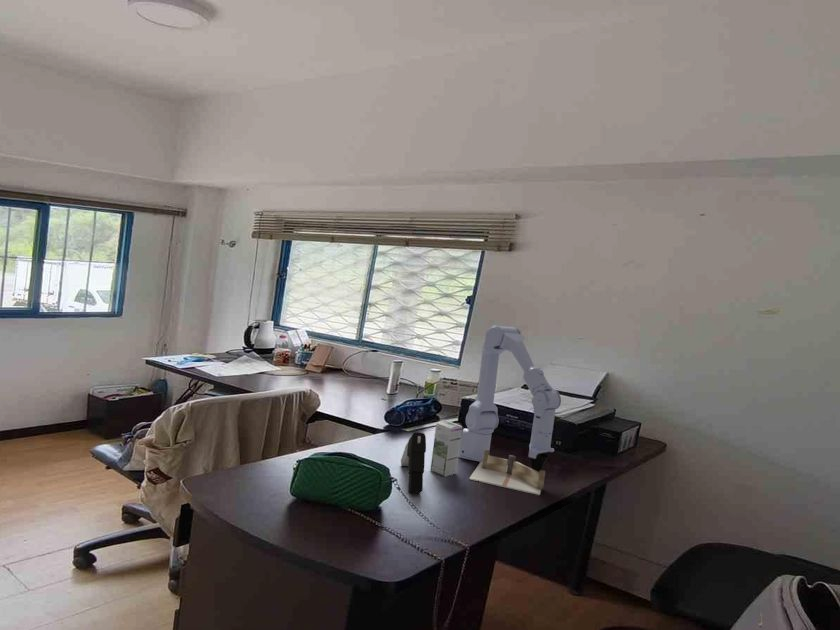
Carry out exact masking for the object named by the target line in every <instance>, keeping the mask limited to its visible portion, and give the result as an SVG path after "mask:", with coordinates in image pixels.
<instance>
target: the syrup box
mask: <svg viewBox="0 0 840 630" xmlns="http://www.w3.org/2000/svg"><path fill="white" fill-rule="evenodd" d="M435 423H436V424H435V432H434V439H433V440H434V441H433V448H432V454H431V456H432V457H431V461H430V462H431V463H430V471H431V472H433V473H436V474H437V473H438V474H437V475H440V476H442V477H449V475H450V476H454V475H456V474H457V472H458V465H459V463H458V461H459V457H458V456H459V449H460V442H461V436H462V432H463V425H460V424H458V423H454V422H452V421H448V420H446V421H443V420H442V421H438V422H435ZM453 474H454V475H453Z"/></svg>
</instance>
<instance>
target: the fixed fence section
mask: <svg viewBox="0 0 840 630" xmlns="http://www.w3.org/2000/svg"><path fill="white" fill-rule="evenodd" d="M489 455H490V450H489V451H488V450H484V455H483V463H482V468H483V469H489V470H494V471H498V472H503V473H506V470H507V474H509V475H512V469H513V462H514V461H516V458H517V456H515V455H512V454H508V458H503V457H499V456H493V455H490V456H489ZM507 465H508V466H507Z"/></svg>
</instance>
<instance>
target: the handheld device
mask: <svg viewBox="0 0 840 630" xmlns="http://www.w3.org/2000/svg"><path fill="white" fill-rule="evenodd" d="M426 453H427V437H426V434H425V432H417V431H416V432H413V433H412V434H411V436H410V437H409V439H408V441H407V443H406V444H405V447H404V451H403V453H402V456H401V458H400V466H401V467H403V466H408V467H407V474H408V485H407V486H408V487H407V493H413V492H417V493H416V494H421V493H422V492H423V489H424V488H423V486H424V485H423V484H424V482H423V481H424V479H423V478H424V472H425V462H426V461H425V456H426V455H425V454H426Z"/></svg>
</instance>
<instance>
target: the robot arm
mask: <svg viewBox="0 0 840 630" xmlns="http://www.w3.org/2000/svg"><path fill="white" fill-rule="evenodd" d="M484 337H485V338H484V343H483V345H482V350H481V351H482V352H481V360H480V368H479V376H478V386H477V391H476V392H477V395H476V399H475V401H474V402H472V403H471V404H470V405H469V407H468V412H467V413H466V416H465V425H466V427H467V428H466V427H465V428H464V427H463V428H462V434H461V441H460V449H459V456H458V458H461V459H463V460H464V459H466V460H469V461H474V462H479V463H480V462H483V455H484V450H488V451H489V452H490V449H491V442H492V433H494V432H495V431H494V430H495V429H497V428H498V425H499V421H500V420H499V415H498V412H499V410H498V407H497V406H496V404H495V402H494V400H495V394H496V384H497V375H498V367H499V366H498V365H499V361H500V360H499V359H500V355H501V354H502V353H504V352H505V351H507V352H510V353H512V355H513V356H514V358H515V360H516V361H517V363H518V365H519V366H520V367H521V369H522V371H523V376H522V379H523V380H524V382H525V384H526V386H527V388H528V390H529V391H530V393H531V396H532V397H531V404H532V406H533V411H532V412H533V415H534V416H533V421H532V429H531V436H530V443H529V445H528V447H529V450H528V456H527V457H528V458H529V460H530V466H531V467H530V468H531V469H534V470H536V471H538V472H540V470H543V469H544V466H545V464H546V462H547V461H548V459H549V458H550V456H551V455H550V453H553V452H555V448H553V447H551V443H552V437H553V431H554V424H555V416H556V410H557V409H559V407H560V406H561V404H562V398H561V395H560V392H559V391H558V390H556V389H554V388H553V387H552V385H551V384H549V382H548V379H546V376H545V372H544V370H542V369H541V368H539V367H537V366H535V364H534V363H533V360H532V358H531V356H530V354H529V351H528V350H527V348H526V346H525V342H524V336H523V333H522V332H521V330H520V328H519V327H517V326H503V325H502V326H500V325H497V324H495V325H492V326H491V327H489V328H488V329H487V330H486V332H485V336H484ZM489 456H491V455H490V454H489Z"/></svg>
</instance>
